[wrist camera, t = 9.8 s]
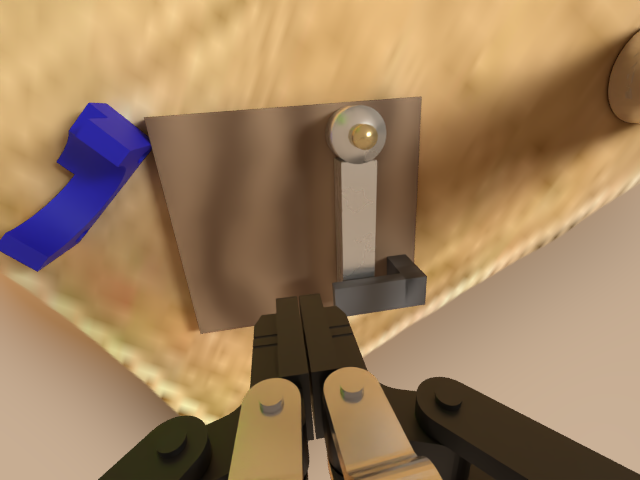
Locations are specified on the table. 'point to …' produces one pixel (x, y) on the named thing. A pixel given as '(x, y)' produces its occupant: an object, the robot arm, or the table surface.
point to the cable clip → (81, 185)
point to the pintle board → (283, 210)
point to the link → (355, 187)
